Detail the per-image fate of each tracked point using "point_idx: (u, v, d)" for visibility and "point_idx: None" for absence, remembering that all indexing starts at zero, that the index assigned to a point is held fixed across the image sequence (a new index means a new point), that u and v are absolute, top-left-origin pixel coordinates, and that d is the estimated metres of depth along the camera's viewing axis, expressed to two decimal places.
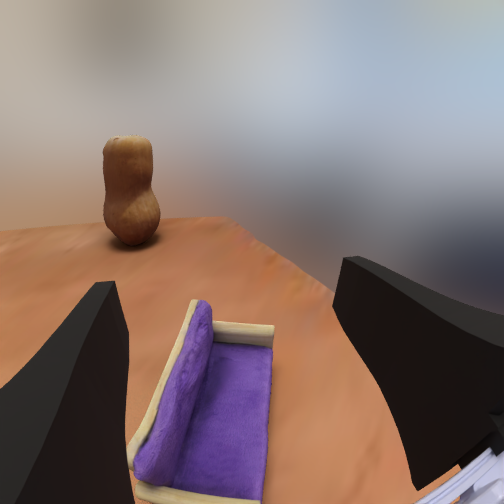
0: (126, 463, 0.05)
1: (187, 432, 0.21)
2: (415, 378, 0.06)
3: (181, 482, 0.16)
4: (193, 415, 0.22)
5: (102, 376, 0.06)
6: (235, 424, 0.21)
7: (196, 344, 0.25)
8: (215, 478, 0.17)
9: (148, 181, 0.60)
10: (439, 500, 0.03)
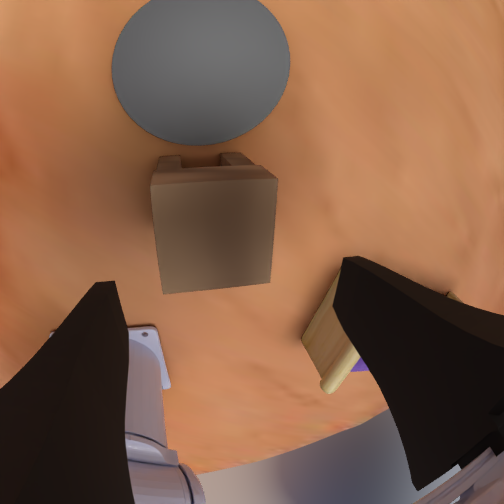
0: (126, 463, 0.05)
1: None
2: (415, 378, 0.06)
3: None
4: None
5: (102, 376, 0.06)
6: None
7: None
8: None
9: None
10: (439, 500, 0.03)
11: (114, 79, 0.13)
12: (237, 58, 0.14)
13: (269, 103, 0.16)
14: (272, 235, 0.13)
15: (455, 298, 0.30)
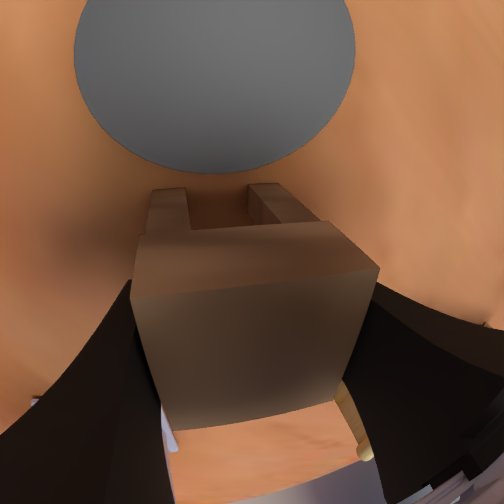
0: (165, 462, 0.06)
1: None
2: (385, 391, 0.06)
3: None
4: None
5: (145, 374, 0.06)
6: None
7: None
8: None
9: None
10: (439, 500, 0.03)
11: (77, 67, 0.07)
12: (279, 34, 0.08)
13: (326, 109, 0.10)
14: (351, 350, 0.07)
15: None
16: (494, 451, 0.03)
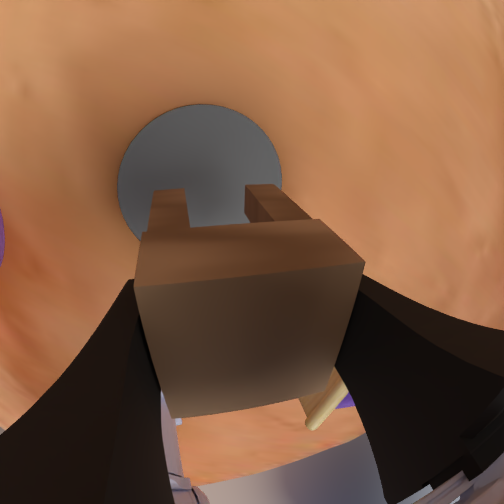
0: (165, 461, 0.06)
1: None
2: (385, 391, 0.06)
3: None
4: None
5: (145, 374, 0.06)
6: None
7: None
8: None
9: None
10: (439, 500, 0.03)
11: (122, 208, 0.16)
12: (232, 184, 0.18)
13: None
14: (340, 340, 0.08)
15: None
16: (494, 451, 0.03)
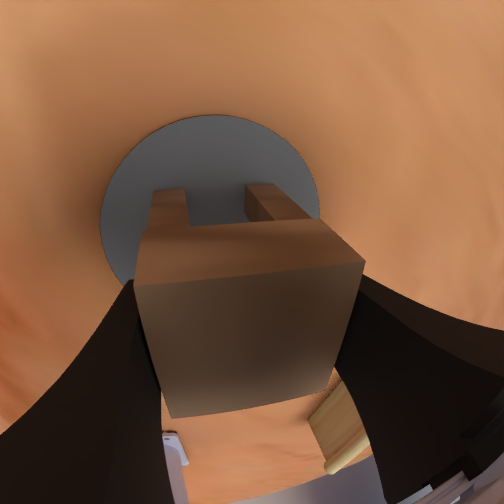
0: (165, 461, 0.06)
1: None
2: (385, 391, 0.06)
3: None
4: None
5: (145, 374, 0.06)
6: None
7: None
8: None
9: None
10: (439, 500, 0.03)
11: (108, 257, 0.12)
12: None
13: None
14: (341, 340, 0.08)
15: None
16: (494, 451, 0.03)
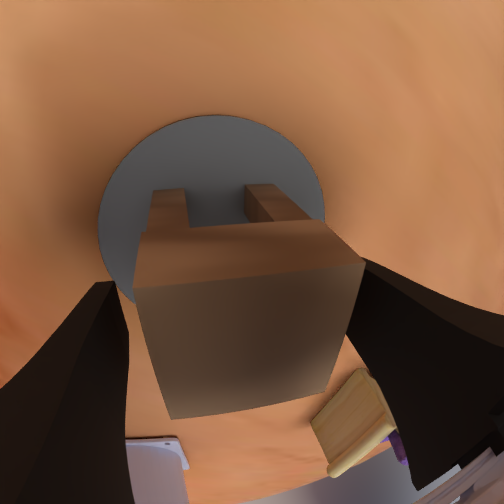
0: (126, 463, 0.05)
1: None
2: (415, 378, 0.06)
3: None
4: None
5: (102, 376, 0.06)
6: None
7: None
8: None
9: None
10: (439, 500, 0.03)
11: (106, 263, 0.12)
12: None
13: None
14: (341, 341, 0.08)
15: None
16: None
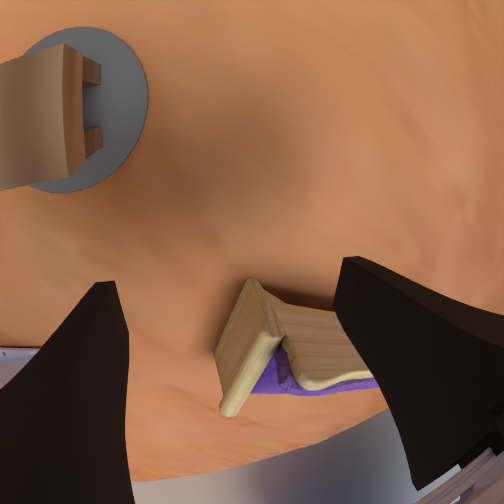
0: (126, 463, 0.05)
1: None
2: (415, 378, 0.06)
3: None
4: None
5: (102, 376, 0.06)
6: None
7: None
8: (273, 371, 0.21)
9: None
10: (439, 501, 0.03)
11: None
12: (93, 101, 0.13)
13: (128, 142, 0.15)
14: (60, 110, 0.08)
15: None
16: None
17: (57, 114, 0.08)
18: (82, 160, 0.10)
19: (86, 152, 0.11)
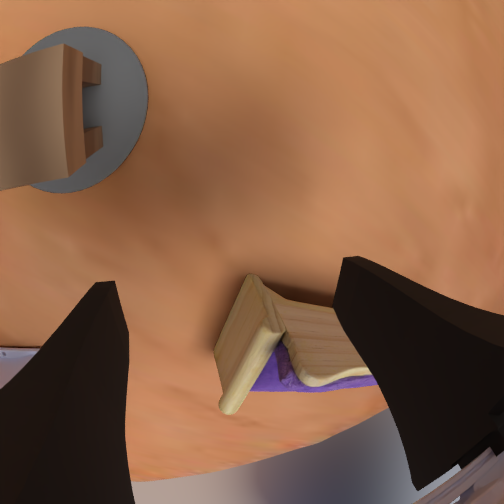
0: (126, 463, 0.05)
1: None
2: (415, 378, 0.06)
3: None
4: None
5: (102, 376, 0.06)
6: None
7: None
8: (274, 368, 0.21)
9: None
10: (439, 501, 0.03)
11: None
12: (93, 101, 0.13)
13: (128, 142, 0.15)
14: (60, 110, 0.08)
15: None
16: None
17: (57, 114, 0.08)
18: (82, 160, 0.10)
19: (86, 152, 0.11)
